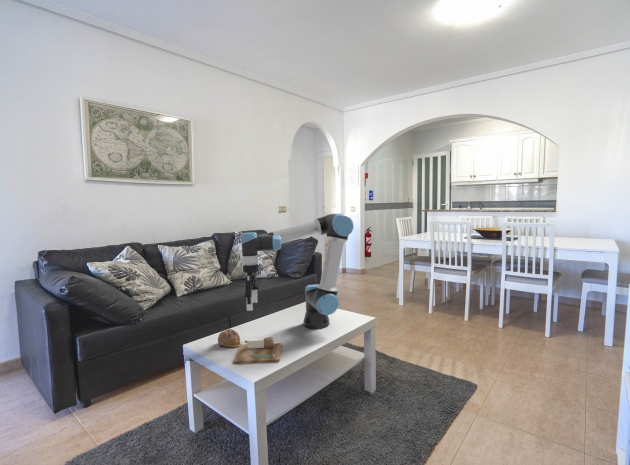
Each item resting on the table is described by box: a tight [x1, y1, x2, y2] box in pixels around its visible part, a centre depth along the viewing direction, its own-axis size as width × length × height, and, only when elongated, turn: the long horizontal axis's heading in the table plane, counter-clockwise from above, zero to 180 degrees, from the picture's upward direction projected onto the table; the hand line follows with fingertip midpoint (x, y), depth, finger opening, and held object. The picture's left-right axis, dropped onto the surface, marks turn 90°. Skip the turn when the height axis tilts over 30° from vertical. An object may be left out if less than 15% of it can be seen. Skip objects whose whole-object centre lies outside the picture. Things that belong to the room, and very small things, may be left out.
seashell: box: [217, 328, 242, 348], centre depth 165 cm, size 10×9×10 cm
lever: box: [244, 336, 274, 349], centre depth 157 cm, size 13×4×4 cm, turn 92°
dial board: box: [232, 342, 283, 365], centre depth 153 cm, size 20×18×1 cm
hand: (252, 306), depth 164 cm, fingers open, 13 cm apart
